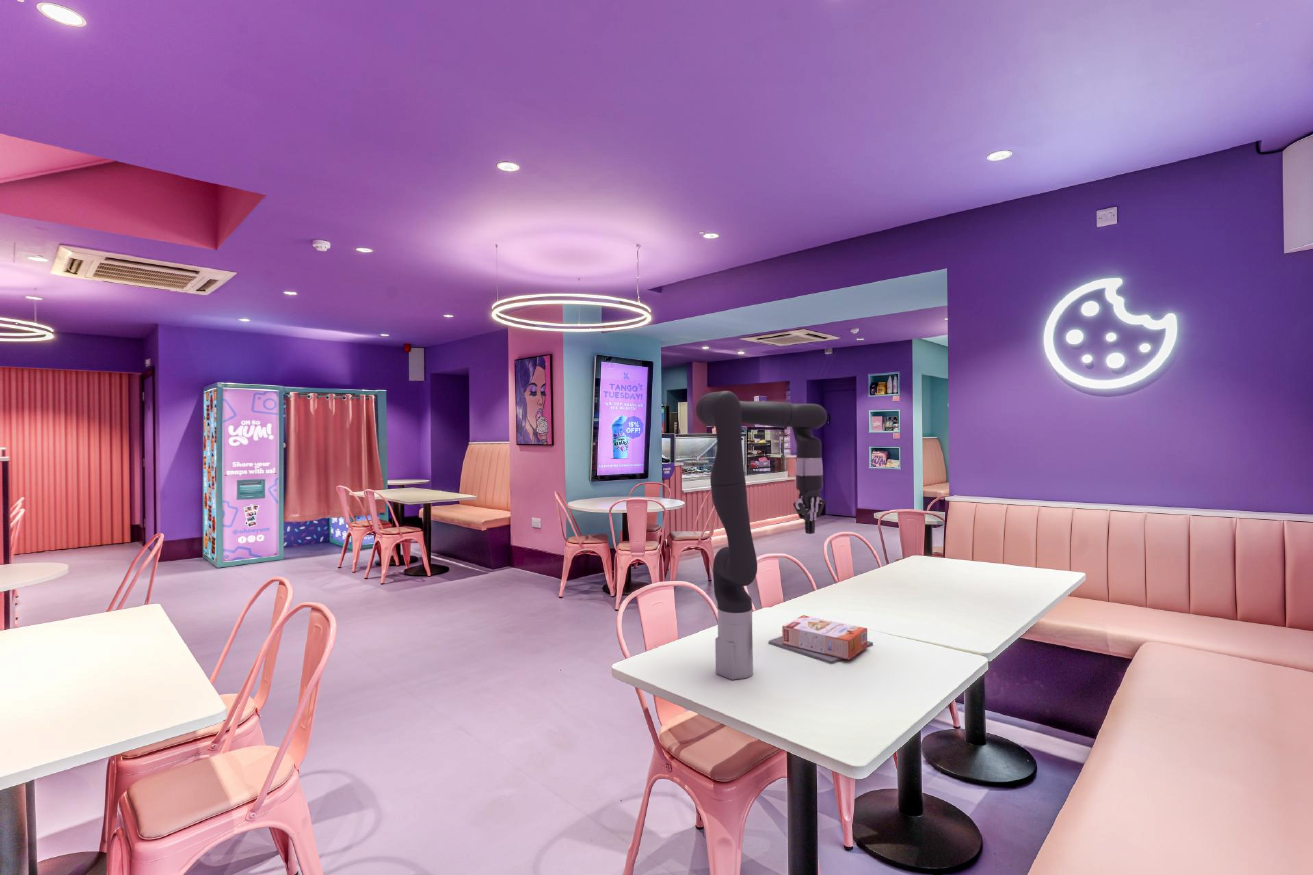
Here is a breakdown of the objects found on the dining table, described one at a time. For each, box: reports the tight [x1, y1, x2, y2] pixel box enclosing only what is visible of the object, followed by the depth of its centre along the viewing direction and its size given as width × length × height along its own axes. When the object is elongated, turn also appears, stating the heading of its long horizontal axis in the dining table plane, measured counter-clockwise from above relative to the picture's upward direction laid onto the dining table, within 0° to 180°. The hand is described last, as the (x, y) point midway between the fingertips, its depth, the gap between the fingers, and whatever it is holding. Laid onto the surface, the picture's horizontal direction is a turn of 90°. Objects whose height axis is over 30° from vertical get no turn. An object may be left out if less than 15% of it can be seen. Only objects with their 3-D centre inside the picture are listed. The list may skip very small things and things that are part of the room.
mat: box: [767, 635, 874, 665], centre depth 178 cm, size 22×22×1 cm
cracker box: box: [781, 615, 868, 660], centre depth 174 cm, size 14×6×21 cm
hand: (809, 533), depth 170 cm, fingers closed
